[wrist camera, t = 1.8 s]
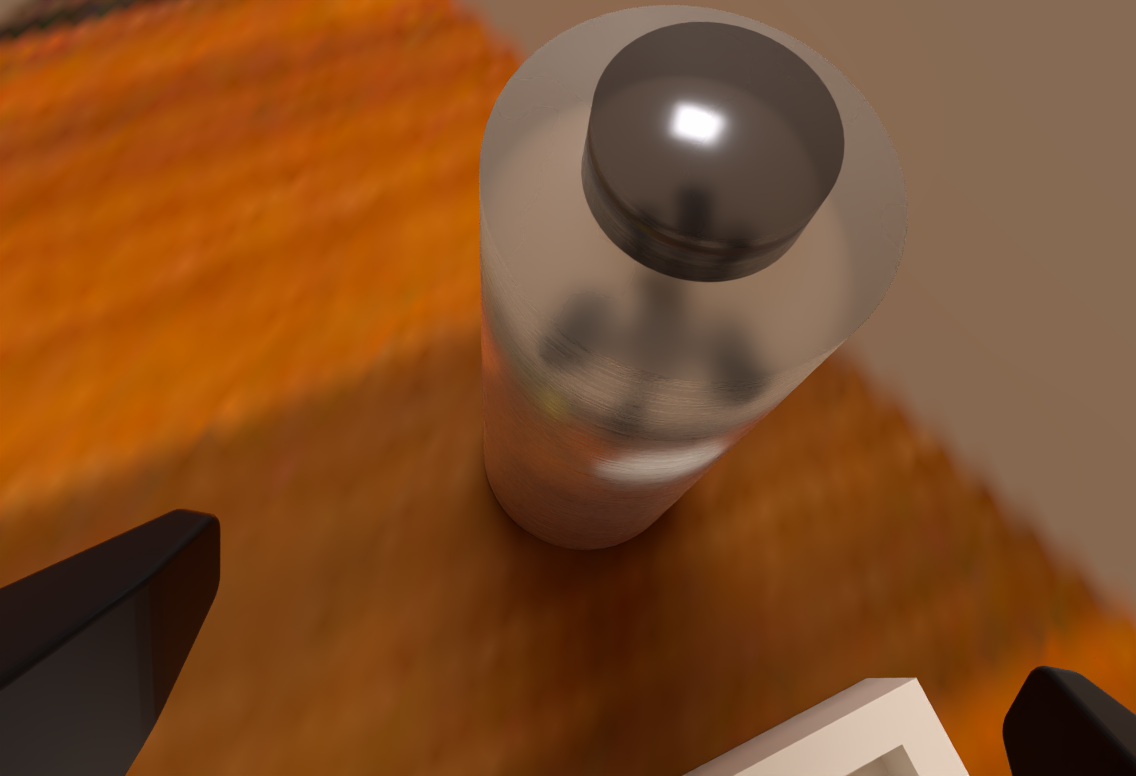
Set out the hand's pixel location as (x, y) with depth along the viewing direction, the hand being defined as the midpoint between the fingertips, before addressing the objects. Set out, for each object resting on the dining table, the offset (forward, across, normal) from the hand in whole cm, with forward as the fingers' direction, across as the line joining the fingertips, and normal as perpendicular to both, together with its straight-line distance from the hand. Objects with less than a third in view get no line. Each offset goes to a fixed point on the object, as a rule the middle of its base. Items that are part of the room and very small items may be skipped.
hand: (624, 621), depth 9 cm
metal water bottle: (+12, 0, +5) cm, 13 cm away
